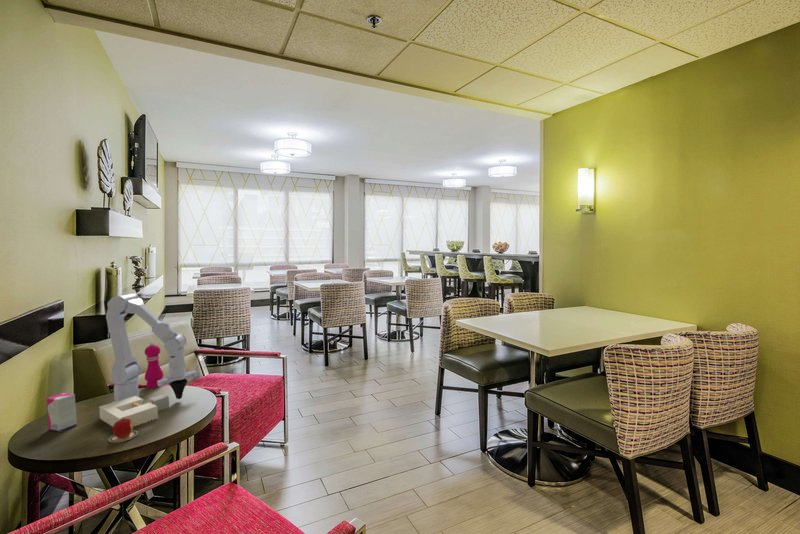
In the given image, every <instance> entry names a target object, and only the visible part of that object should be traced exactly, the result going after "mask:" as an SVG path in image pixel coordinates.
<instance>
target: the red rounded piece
mask: <svg viewBox="0 0 800 534" xmlns="http://www.w3.org/2000/svg"><path fill="white" fill-rule="evenodd" d="M133 429H134V427H133V423H132V420H130V419H124V417H123V419H121V420H119V421H117V422H116V423H115V424H114V426H113V427H112V435H111V436H109V438H108V442H110V443H115V444H116V443H122V442H127V441H129V440H131V439H134V438H135V437H137V436H138V434H139V432H138V431H137V430H133Z"/></svg>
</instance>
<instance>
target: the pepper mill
mask: <svg viewBox="0 0 800 534" xmlns="http://www.w3.org/2000/svg"><path fill="white" fill-rule="evenodd" d="M159 354H161V348H160V347H159V346H158V345H157V344H155V342H154V341H151V342H150V343H149V346H146V347H145V349H144V355H145V356H146V358H145V359H146V361H147V369H146V371H145V373H144V380H145V381H146V388H148V389H154V388H158V387H160V386H158V384H157V381H159V380H162V379H164V378H163V377H164V371H163V369H162V368H161V366H160V364H159V363H160V362H159V360H160V355H159Z"/></svg>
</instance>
